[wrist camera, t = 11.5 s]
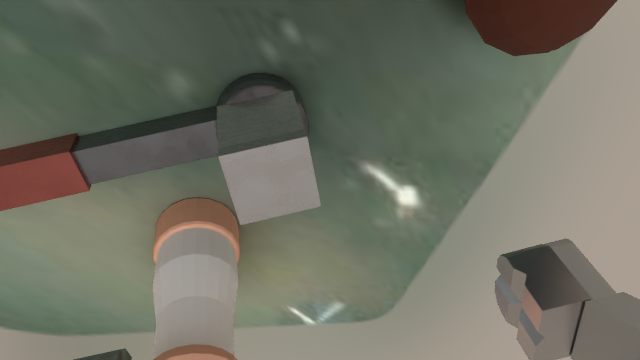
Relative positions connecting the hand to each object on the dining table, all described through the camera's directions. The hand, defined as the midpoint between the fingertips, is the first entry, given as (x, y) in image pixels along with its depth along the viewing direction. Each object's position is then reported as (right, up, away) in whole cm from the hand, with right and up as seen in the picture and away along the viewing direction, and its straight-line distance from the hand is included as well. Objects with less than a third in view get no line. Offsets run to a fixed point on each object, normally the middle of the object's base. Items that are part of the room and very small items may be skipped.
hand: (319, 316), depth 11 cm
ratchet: (-14, +6, +30) cm, 34 cm away
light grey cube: (-4, +7, +28) cm, 29 cm away
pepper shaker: (-11, -2, +36) cm, 38 cm away
